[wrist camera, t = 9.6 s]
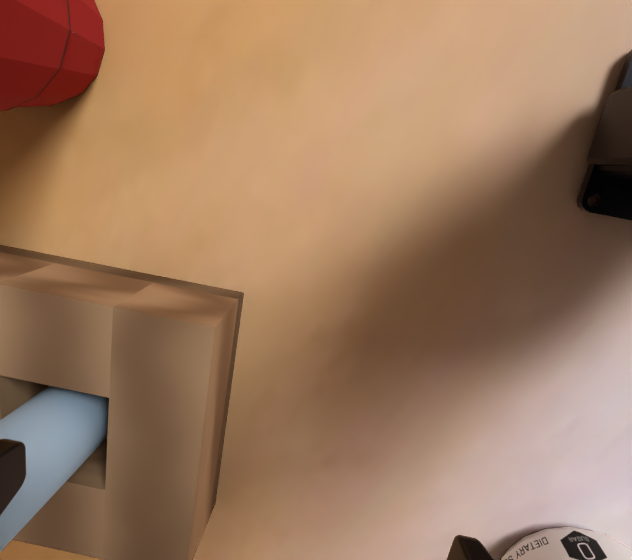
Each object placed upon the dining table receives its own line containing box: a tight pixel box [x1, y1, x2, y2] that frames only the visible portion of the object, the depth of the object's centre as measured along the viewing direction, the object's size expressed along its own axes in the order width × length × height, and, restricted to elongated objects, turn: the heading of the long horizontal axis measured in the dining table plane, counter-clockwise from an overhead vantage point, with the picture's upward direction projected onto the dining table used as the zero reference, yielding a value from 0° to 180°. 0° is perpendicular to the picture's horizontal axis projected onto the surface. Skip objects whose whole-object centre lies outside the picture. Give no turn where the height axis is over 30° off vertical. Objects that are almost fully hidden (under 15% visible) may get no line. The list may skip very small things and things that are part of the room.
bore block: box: [0, 245, 244, 560], centre depth 20 cm, size 13×13×4 cm
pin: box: [0, 386, 109, 552], centre depth 18 cm, size 4×4×8 cm
